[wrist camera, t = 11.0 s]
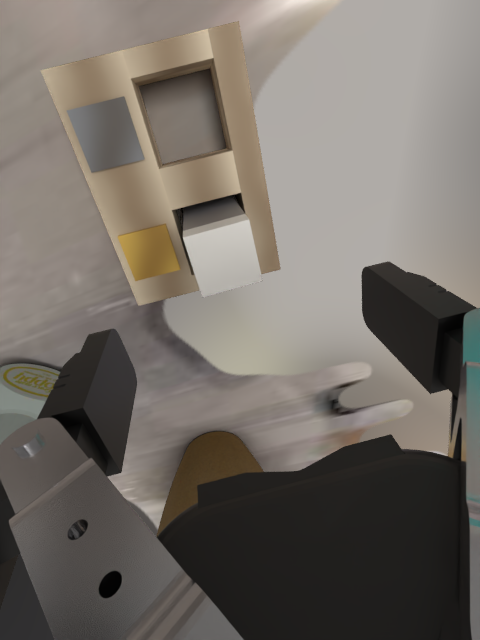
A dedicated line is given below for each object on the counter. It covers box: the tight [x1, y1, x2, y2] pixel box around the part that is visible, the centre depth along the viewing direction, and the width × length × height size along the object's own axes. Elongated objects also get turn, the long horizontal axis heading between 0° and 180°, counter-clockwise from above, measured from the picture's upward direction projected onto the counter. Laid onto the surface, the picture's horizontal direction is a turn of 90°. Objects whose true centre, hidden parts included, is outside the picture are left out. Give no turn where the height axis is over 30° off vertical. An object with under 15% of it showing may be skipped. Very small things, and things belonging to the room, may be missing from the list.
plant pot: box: [157, 431, 263, 536], centre depth 36 cm, size 15×15×16 cm
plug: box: [183, 195, 262, 297], centre depth 25 cm, size 4×4×10 cm
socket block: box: [41, 21, 280, 306], centre depth 26 cm, size 12×16×4 cm
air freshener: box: [0, 364, 60, 444], centre depth 31 cm, size 11×8×10 cm
